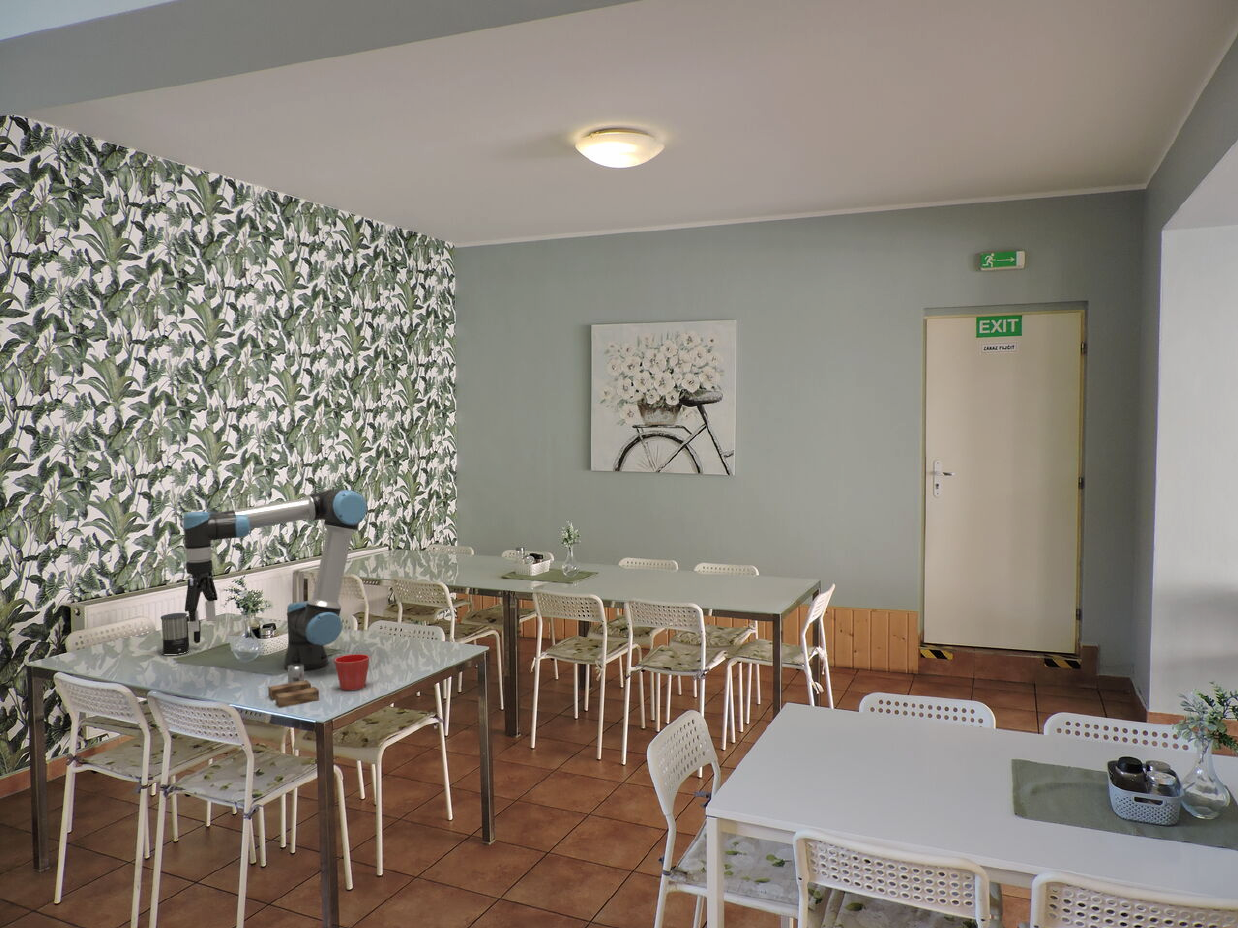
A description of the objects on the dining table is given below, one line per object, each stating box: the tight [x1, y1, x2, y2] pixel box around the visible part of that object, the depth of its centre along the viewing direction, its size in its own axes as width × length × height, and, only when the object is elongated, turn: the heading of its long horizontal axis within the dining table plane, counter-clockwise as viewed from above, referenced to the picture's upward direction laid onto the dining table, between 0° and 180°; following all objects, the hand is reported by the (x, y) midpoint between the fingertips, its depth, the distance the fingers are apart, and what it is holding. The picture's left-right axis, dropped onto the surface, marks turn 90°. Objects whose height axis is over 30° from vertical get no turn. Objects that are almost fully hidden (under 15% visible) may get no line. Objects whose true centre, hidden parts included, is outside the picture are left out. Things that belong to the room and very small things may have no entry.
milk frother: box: [160, 612, 202, 654], centre depth 344 cm, size 14×16×15 cm
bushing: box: [287, 664, 305, 684], centre depth 294 cm, size 5×5×7 cm
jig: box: [267, 679, 320, 708], centre depth 282 cm, size 12×14×3 cm
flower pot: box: [334, 653, 370, 691], centre depth 292 cm, size 11×11×10 cm
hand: (203, 625), depth 285 cm, fingers open, 13 cm apart
